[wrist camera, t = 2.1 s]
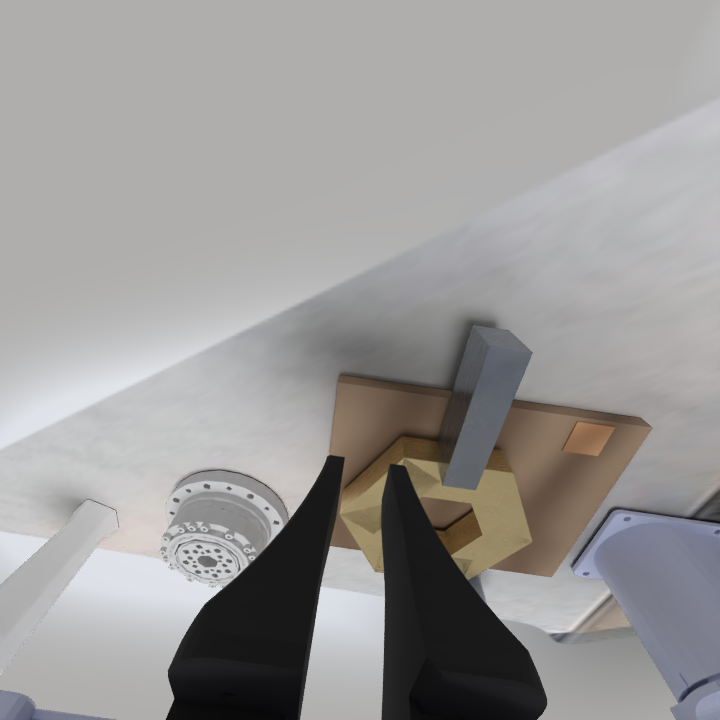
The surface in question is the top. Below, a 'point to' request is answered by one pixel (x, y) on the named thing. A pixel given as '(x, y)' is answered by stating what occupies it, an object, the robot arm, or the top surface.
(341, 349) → the top surface
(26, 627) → the perfume bottle
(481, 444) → the handled hexagon ring
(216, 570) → the mechanical component
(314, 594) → the robot arm
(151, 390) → the top surface
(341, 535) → the mount board
